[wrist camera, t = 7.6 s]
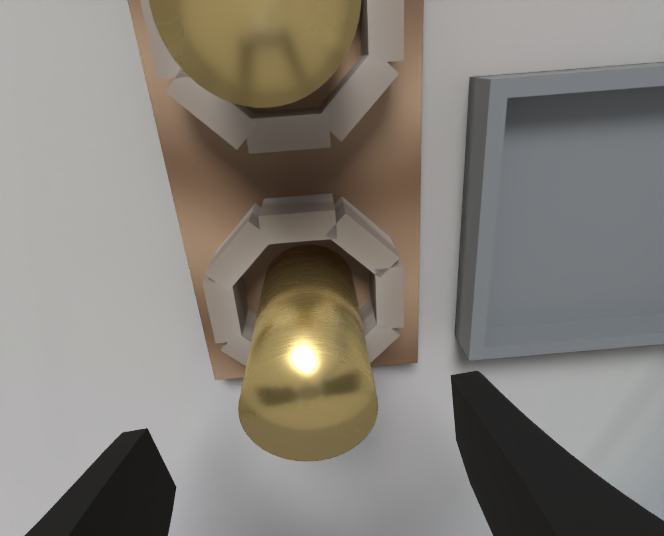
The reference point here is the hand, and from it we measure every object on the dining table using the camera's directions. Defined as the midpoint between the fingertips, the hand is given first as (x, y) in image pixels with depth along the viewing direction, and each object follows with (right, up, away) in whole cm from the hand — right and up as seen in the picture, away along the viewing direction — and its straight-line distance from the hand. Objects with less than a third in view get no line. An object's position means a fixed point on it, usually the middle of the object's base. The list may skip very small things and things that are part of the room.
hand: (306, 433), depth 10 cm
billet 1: (-1, +12, +3) cm, 12 cm away
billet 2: (0, +3, +7) cm, 8 cm away
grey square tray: (+11, +6, +8) cm, 15 cm away
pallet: (-1, +8, +6) cm, 10 cm away
